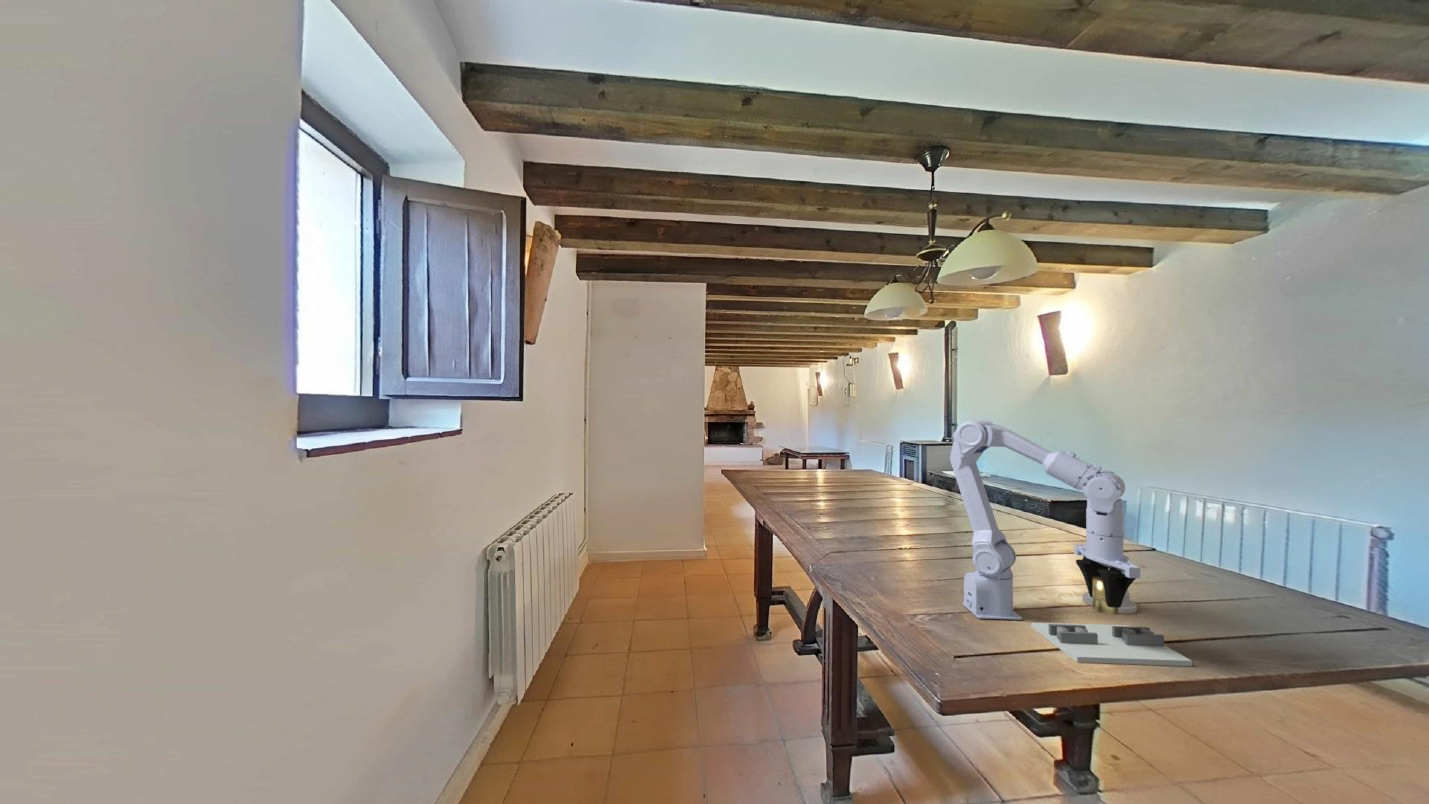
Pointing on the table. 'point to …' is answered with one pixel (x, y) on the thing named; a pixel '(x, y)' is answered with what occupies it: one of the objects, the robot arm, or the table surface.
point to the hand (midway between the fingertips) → (1104, 601)
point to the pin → (1101, 598)
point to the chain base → (1110, 644)
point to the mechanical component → (1126, 604)
